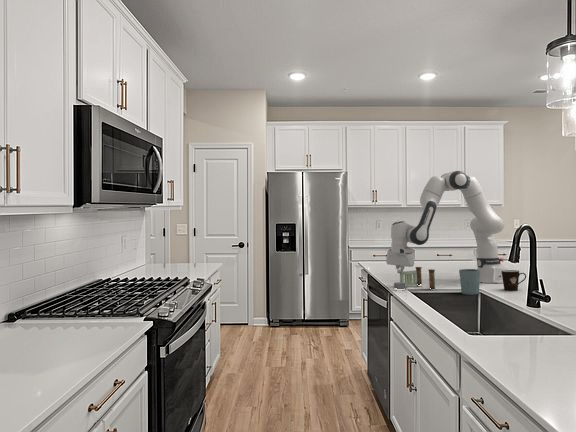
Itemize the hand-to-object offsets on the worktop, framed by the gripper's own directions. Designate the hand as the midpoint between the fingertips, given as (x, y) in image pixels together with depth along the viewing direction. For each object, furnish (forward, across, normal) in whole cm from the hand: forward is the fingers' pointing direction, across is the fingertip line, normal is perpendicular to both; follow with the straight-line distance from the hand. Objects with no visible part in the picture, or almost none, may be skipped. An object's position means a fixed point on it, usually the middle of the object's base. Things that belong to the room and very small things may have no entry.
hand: (400, 273), depth 278 cm
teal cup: (+8, +41, +10) cm, 43 cm away
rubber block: (+8, +10, -9) cm, 16 cm away
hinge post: (+7, +6, +8) cm, 13 cm away
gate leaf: (+6, +6, +1) cm, 9 cm away
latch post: (+7, +19, +5) cm, 21 cm away
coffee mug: (+8, +48, +34) cm, 60 cm away
